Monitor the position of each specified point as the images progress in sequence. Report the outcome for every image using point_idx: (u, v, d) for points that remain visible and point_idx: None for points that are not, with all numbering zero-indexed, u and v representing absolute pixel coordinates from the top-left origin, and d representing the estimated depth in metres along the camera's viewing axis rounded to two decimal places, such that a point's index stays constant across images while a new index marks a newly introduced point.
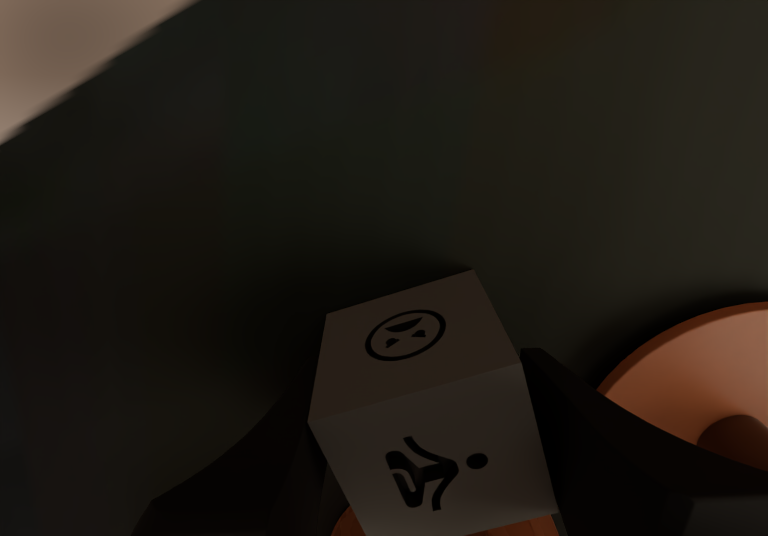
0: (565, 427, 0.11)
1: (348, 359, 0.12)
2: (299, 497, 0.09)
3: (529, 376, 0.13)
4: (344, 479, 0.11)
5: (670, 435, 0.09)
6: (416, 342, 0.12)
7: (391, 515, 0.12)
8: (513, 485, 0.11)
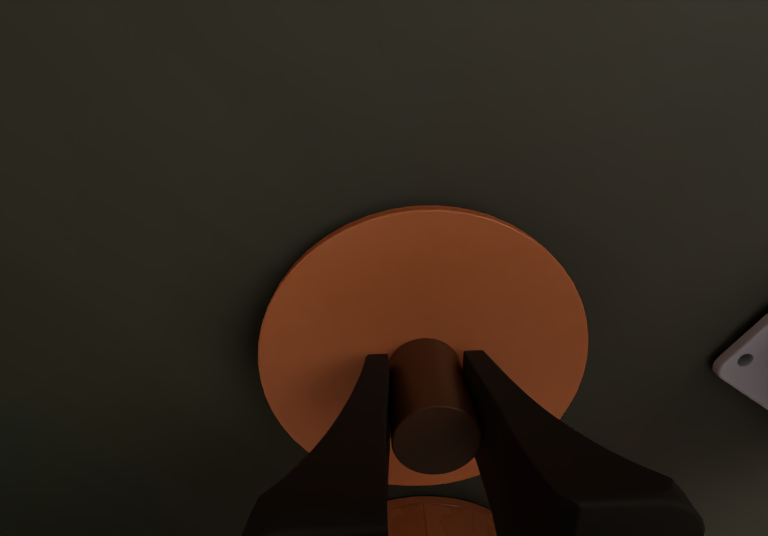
0: (493, 430, 0.11)
1: None
2: None
3: (469, 378, 0.13)
4: None
5: (585, 438, 0.09)
6: None
7: None
8: None
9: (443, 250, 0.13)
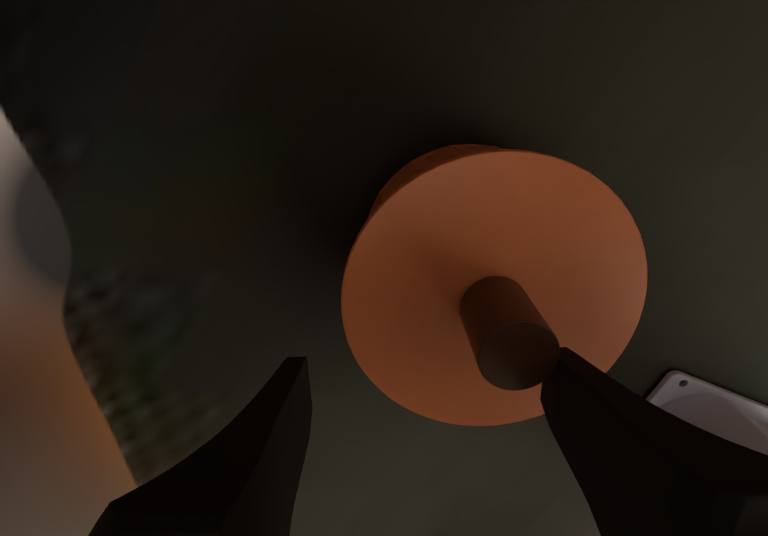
0: (598, 426, 0.11)
1: None
2: (266, 498, 0.09)
3: (557, 375, 0.13)
4: None
5: (709, 433, 0.09)
6: None
7: None
8: None
9: (612, 282, 0.16)
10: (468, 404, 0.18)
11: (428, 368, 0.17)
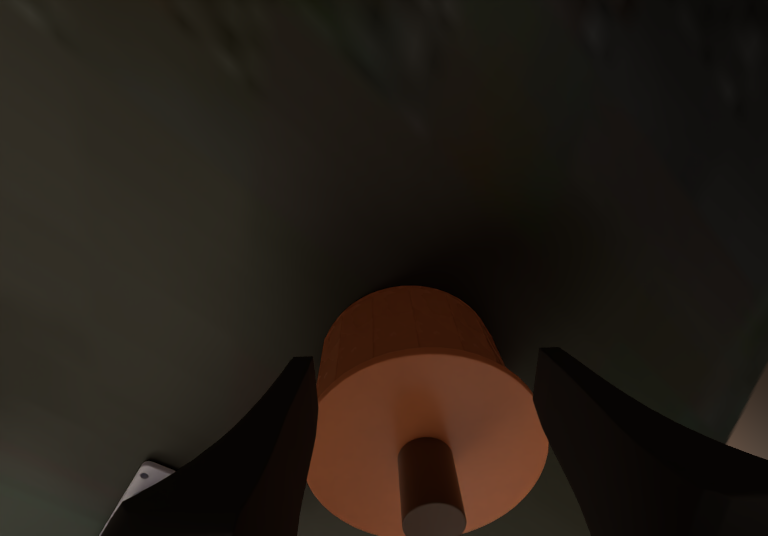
0: (588, 426, 0.11)
1: None
2: (275, 498, 0.09)
3: (548, 375, 0.13)
4: None
5: (697, 434, 0.09)
6: None
7: None
8: None
9: (397, 521, 0.21)
10: (343, 412, 0.19)
11: (398, 400, 0.18)
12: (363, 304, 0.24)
